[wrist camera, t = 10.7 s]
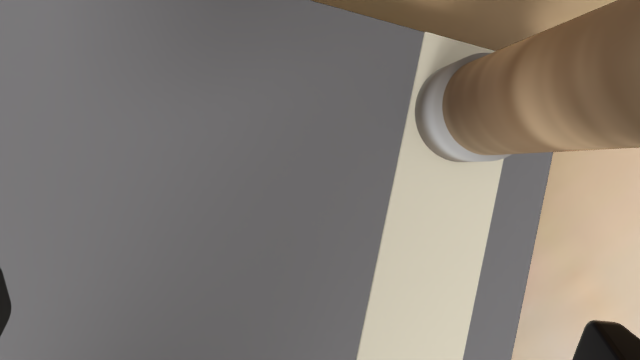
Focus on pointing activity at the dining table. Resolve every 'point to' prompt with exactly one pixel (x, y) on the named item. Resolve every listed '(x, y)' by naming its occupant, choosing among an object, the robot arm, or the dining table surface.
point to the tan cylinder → (540, 92)
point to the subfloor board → (245, 189)
